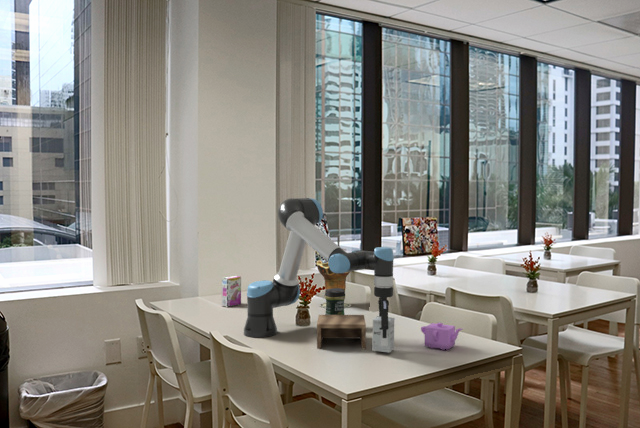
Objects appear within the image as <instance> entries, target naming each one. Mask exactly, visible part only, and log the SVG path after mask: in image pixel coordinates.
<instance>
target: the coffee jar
mask: <svg viewBox="0 0 640 428" xmlns="http://www.w3.org/2000/svg"><path fill="white" fill-rule="evenodd" d="M324 293H325V294H324V298H325V303H326V308H325V314H324V315H346V314H345V308H344V303H345V299H346V289H345V290H344V289H342V288H332V289H326V291H325V292H324Z"/></svg>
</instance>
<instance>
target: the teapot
mask: <svg viewBox="0 0 640 428" xmlns="http://www.w3.org/2000/svg"><path fill="white" fill-rule="evenodd" d="M461 330H463V328H457V329H456V326H455V325H449V324H444V323H442V322H437V323H434V322H432V323H430V324H428V325H426V326H421V327H420V331H421V332H422V333H423V335H424V347H428V348H430V349H440V350H441V349H442V350H441V351H446V350H450V349H451V348H452V347H454V346H455V345H456V340H457V339H458V335H459V332H461ZM445 349H446V350H445Z"/></svg>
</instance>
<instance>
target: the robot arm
mask: <svg viewBox="0 0 640 428" xmlns="http://www.w3.org/2000/svg"><path fill="white" fill-rule="evenodd" d="M323 217H324V210H323V207H322V204H321V203H320V202H319V201H318V199H315V198H310V197H305V198H304V197H303V198H302V197H300V198H298V197H297V198H294V197H293V198H287V199H285V200H283V201H282V202H281V203H280V204H279V206H278V209H277V218H278V220H279V222H280V224H281V225H282V226H283V227H284V228H285V229H286V230H288V231H289V235H288V238H287V241H286V244H285V248H284V253H283V256H282V260H281V264H280V267H279V271H278V273H276V274H274V277H273V280H272V281H271V280H257V281H254V282H251V283H249V284H248V286H247V289H246V291H247V292H246V296H247V297H246V300H247V303H246V305H247V306H246V307H247V310H246V311H247V317H246V321H245V323H244V328H243V335H244V336H246V337H248V338H249V337H250V338H267V337H271V336H275V335H277V334H278V327H277V324H276V320H275V318H274V309H276V308H280V307H284V306H285V307H286V306H287V307H288V306H291V305H293V304H295V303H296V302H297V301H298V300H299V298H300V296H301V289H300V288H301V287H300V284H299V280H298V279H297V276H298V273H299V270H300V266H301V262H302V260H303V259H302V258H303V256H304V252H305V249H306V244H308V245H309V246H310V248H312V249H313V250H314V251H315V252H317V254H319V256H321V257H322V258H323V259H324V260H326V261H327V262H328V265H329V267H330V270H331V271H332V272H334V273H345V272H350V271H351V272H354V271H361V270H368V271H370V270H371V271H374V273H373V277H374V279H373V285H374V288H373V295H374V297H377V298H378V301H377V302H378V303H377V304H378V311H379V312H378V316H381V328H379V329H380V330H381V346H388V328H389V327H388V317H389V310H390V309H389V306H390V302H389V300H388V298H392V297H393V296H394V287H393V286H394V281H395V277H394V260H395V259H394V250H393V248H392V247H387V246H380V247H375V248H374V251H368V250H362V249H359V250H358V249H357V250H356V249H355V250H352V251H350V252H347V251H346V250H344V249H343V248H341V247H340V246H339V245H338V244H337V243H335V241H333V240H332V239H331V238H329V236H327V235H326V234H325V233H324V232H322V231H321V230H320V229H319V228H318V227H316V225H317V224H319V222H321V221H322V220H323ZM351 272H350V273H351Z"/></svg>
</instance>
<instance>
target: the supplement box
mask: <svg viewBox="0 0 640 428" xmlns="http://www.w3.org/2000/svg"><path fill="white" fill-rule="evenodd" d="M395 320H396V319H395V317H389V316H388V327H389V328H388V346H381V330H380V329H379V328H381V316H379V315H378V316H377V315H376V317H374V318H373V319H372V345H371V346H372V349H371V350H372V352H383V353H388V354H389V353H391V351H393V350H394V349H395Z"/></svg>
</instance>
